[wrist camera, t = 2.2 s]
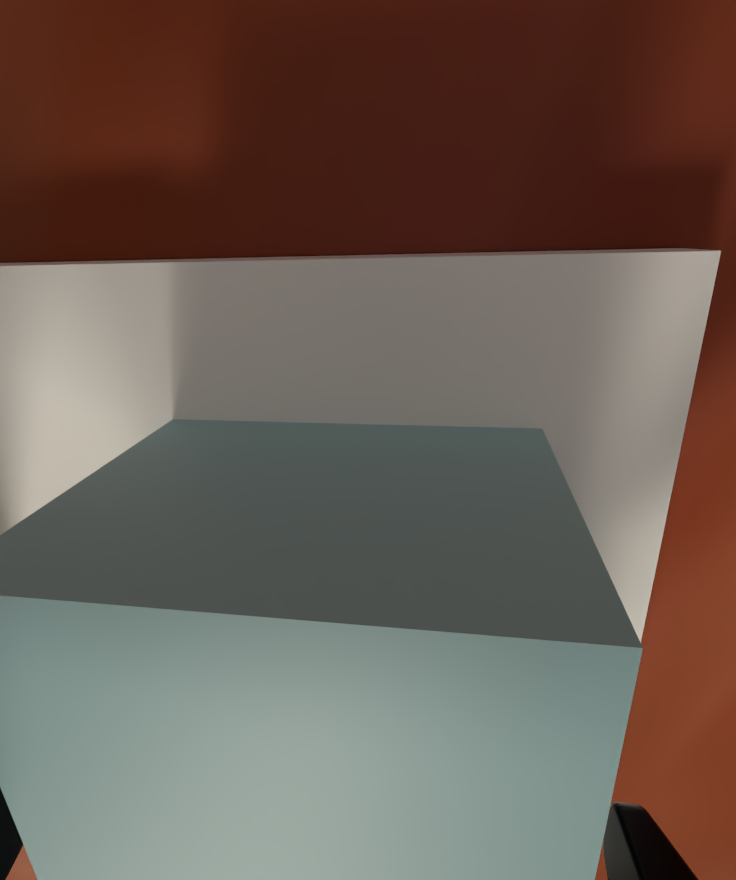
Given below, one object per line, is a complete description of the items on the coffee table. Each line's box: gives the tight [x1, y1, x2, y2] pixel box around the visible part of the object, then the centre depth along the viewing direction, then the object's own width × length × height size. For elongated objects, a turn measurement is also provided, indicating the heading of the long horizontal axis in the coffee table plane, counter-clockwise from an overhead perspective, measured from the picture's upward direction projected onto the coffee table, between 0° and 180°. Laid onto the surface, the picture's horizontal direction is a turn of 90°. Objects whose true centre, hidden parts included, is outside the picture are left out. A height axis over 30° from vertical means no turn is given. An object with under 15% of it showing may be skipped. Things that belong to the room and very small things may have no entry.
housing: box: [0, 419, 643, 880], centre depth 9 cm, size 7×9×6 cm
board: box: [0, 248, 721, 643], centre depth 12 cm, size 20×15×4 cm
